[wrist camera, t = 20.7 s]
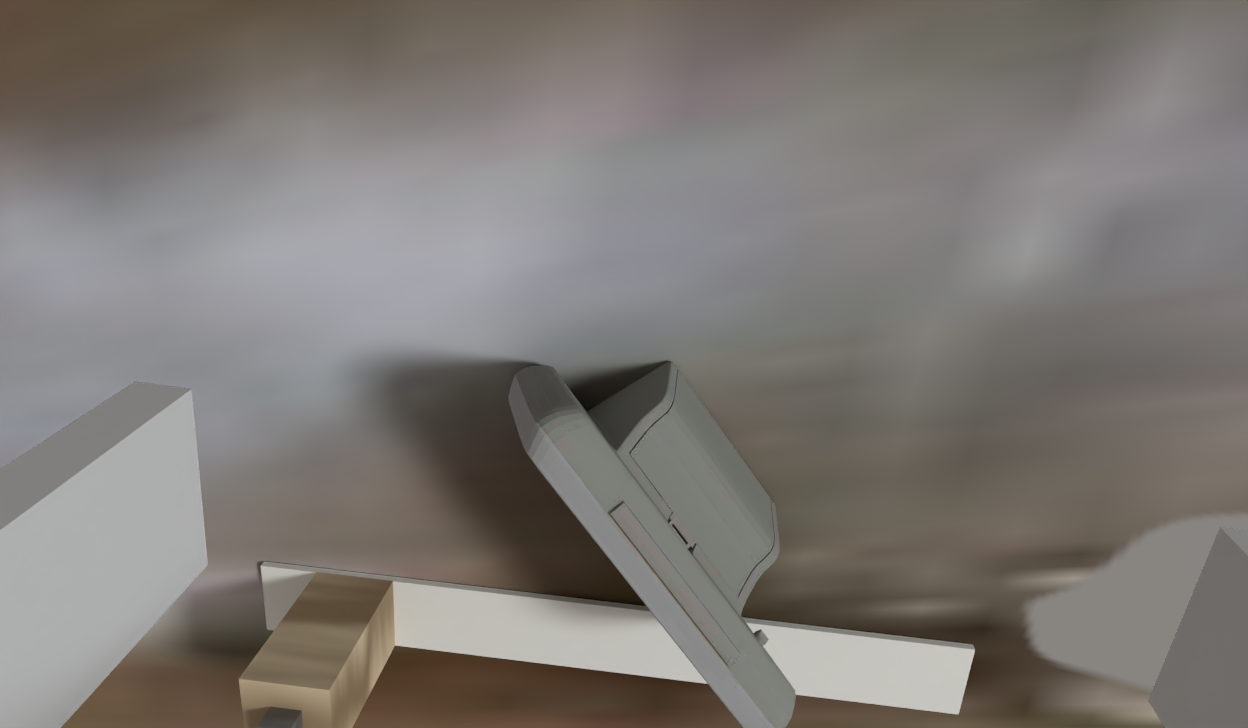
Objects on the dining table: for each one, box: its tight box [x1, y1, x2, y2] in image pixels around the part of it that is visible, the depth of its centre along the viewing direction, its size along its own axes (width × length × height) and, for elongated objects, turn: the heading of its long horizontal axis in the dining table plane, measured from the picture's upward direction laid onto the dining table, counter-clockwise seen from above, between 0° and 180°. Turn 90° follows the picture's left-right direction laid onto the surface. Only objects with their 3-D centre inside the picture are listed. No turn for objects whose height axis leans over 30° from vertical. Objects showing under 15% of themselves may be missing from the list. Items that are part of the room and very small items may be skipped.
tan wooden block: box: [239, 572, 395, 728], centre depth 42 cm, size 4×4×9 cm
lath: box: [261, 561, 975, 714], centre depth 46 cm, size 4×36×1 cm, turn 86°
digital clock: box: [508, 361, 796, 728], centre depth 38 cm, size 16×9×11 cm, turn 24°
